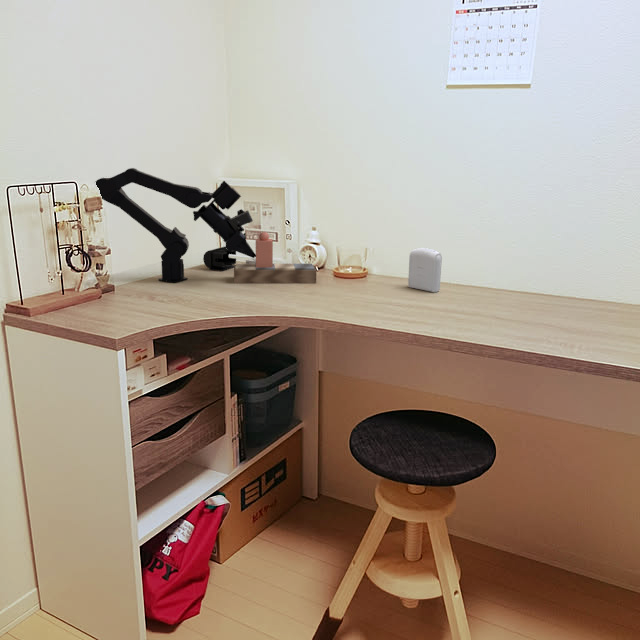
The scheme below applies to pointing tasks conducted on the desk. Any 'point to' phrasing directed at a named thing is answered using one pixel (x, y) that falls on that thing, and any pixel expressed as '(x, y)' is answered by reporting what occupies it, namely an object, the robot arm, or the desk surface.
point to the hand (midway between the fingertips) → (254, 256)
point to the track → (274, 273)
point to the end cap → (219, 259)
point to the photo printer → (425, 269)
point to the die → (251, 261)
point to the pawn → (264, 251)
